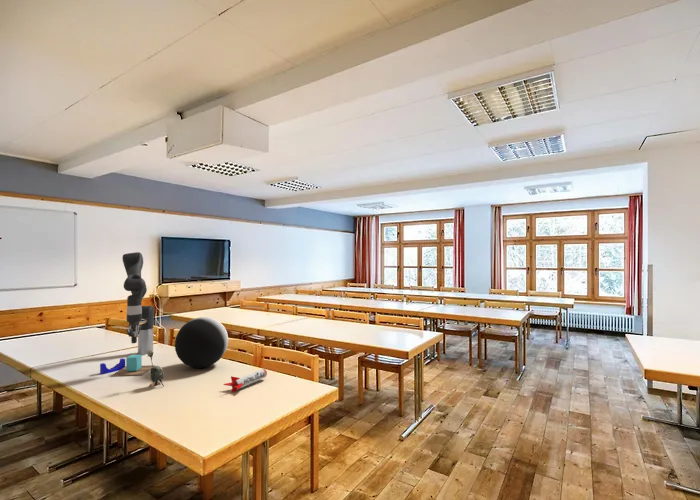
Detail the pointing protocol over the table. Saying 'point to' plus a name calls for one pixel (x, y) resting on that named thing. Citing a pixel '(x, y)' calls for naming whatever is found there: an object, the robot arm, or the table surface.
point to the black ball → (201, 342)
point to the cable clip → (116, 368)
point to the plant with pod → (155, 372)
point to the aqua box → (133, 362)
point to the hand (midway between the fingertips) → (134, 342)
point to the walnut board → (133, 373)
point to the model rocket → (246, 379)
